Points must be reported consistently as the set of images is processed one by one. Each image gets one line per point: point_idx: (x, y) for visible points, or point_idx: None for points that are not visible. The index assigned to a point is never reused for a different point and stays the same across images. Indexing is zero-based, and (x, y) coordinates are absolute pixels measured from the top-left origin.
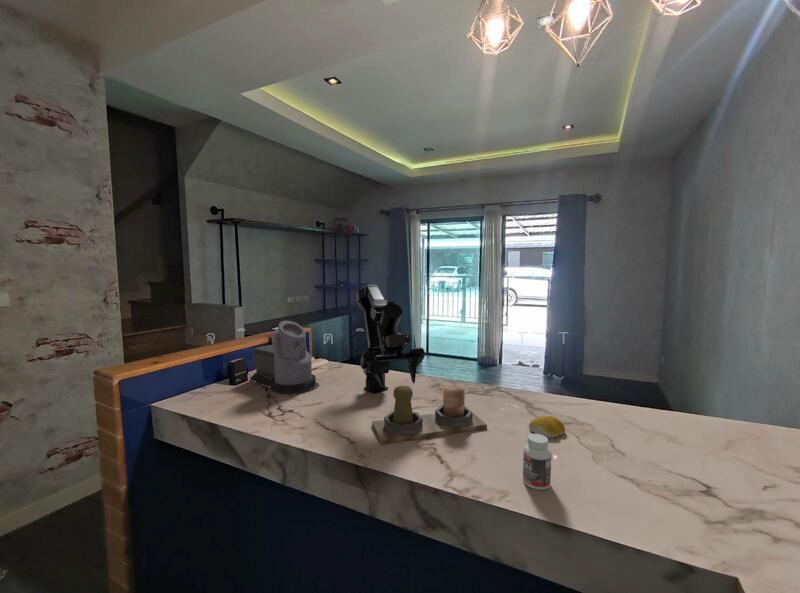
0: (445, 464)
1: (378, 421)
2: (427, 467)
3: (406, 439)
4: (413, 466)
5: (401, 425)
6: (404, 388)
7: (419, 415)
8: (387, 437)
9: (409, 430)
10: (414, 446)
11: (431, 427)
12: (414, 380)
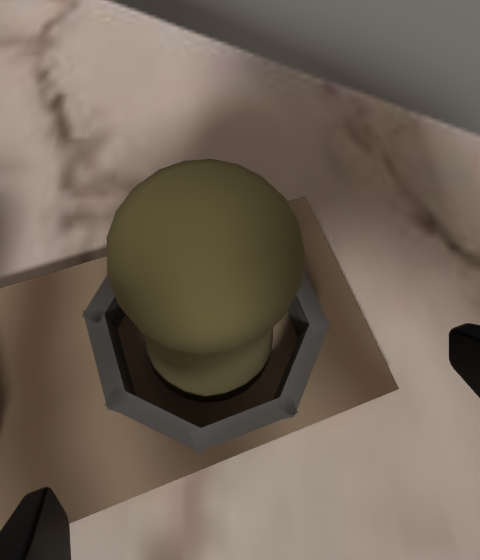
0: (47, 89)
1: (361, 392)
2: (116, 75)
3: None
4: (165, 79)
5: None
6: (187, 190)
7: (97, 358)
8: None
9: None
10: None
11: (44, 328)
12: (28, 499)
